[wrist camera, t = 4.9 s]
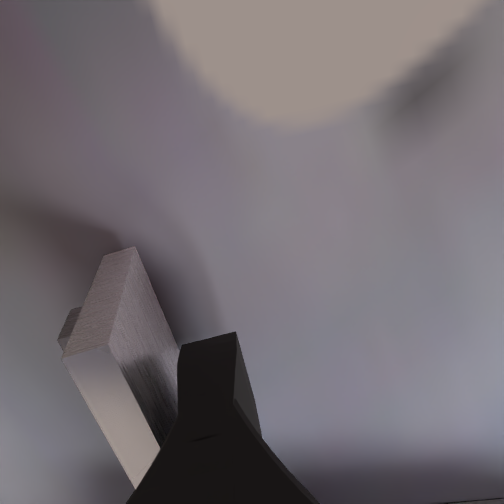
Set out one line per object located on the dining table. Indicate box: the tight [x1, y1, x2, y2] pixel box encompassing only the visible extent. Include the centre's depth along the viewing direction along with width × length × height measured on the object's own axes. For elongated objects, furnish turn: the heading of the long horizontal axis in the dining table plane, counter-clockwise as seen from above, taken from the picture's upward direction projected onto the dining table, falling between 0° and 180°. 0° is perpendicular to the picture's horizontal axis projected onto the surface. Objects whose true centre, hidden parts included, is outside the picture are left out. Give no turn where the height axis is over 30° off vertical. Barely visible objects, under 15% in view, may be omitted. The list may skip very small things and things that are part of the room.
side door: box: [57, 246, 180, 490], centre depth 10 cm, size 9×1×4 cm, turn 15°
